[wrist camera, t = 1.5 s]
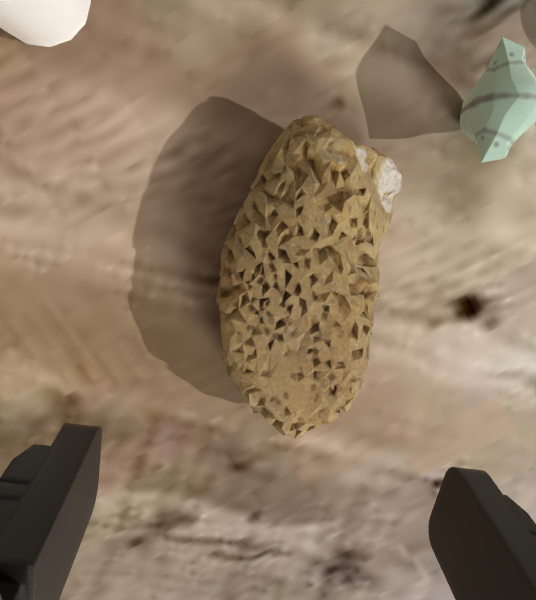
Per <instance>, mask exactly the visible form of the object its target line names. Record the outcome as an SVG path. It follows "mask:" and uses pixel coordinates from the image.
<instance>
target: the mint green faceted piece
mask: <svg viewBox="0 0 536 600" xmlns="http://www.w3.org/2000/svg"><path fill="white" fill-rule="evenodd" d="M535 123H536V76H535V75H534V74H533V73H532V71H531V70H530V69H529V68H528V66H527V65H526V60H525V47H523V46H521V45H519V44H517V43H514V42H512V41H510V40H508V39H506V38H503V37H502V39H501V41H500V43H499V45H498V47H497V49H496V51H495V53H494V55H493V57H492V59H491V61H490V63H489V66H488V68H487V69H486V71H485V72H484V74H483V75H482V77H481V78H480V80H479V81H478V83H477V84H476V86H475V87H474V88H473V89H472V90H471V92H470V93H469V94H468V96H467V97H466V98H465V100H464V101H463V105H462V109H461V115H460V127H461V129H462V131H463V133H464V134H465V135H466V136H468V137H469V138H470V139H473V140H474V142H475V143H476V145H477V147H478V151H479V155H480V159H481V162H487V161H493V160H499V159H503V158H505V157H506V155H507V153H508V151H509V149H510V147H511V145H512V144H513V143H514V142H515V141H516V140H517V139H518V138H519V137H520V136H521V135H522V134H523V133H524V132H525V131H526V130H528V129H529V128H530V127H531V126H532V125H534V124H535Z"/></svg>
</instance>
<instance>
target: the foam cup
mask: <svg viewBox="0 0 536 600" xmlns="http://www.w3.org/2000/svg"><path fill="white" fill-rule="evenodd" d="M90 4H91V0H0V28H1V29H3V30H4V31H6V32H8V33H9V34H11V35H13V36H14V37H16V38H18V39H19V40H21V41H22V42H24V43H26V44H31V45H38V46H46V47H51V46H54V45H57V44H60V43H63V42H66V41H69V40H71V39H72V38H73V37H74V36H75V35H76V34H77V32H78V31H79V30H80V29H81V28H82V27H83V26H84V25H85V23H86V19H87V16H88V12H89V8H90Z"/></svg>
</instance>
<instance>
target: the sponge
mask: <svg viewBox="0 0 536 600" xmlns="http://www.w3.org/2000/svg"><path fill="white" fill-rule="evenodd" d="M401 186H402V175H401V174H400V173H399V171H398V170H397V168H396V167H395V163H394V162H393V161H392V160H391V159H390V158H389V157H387V156H385V155H383V154H382V153H380V152H378V151H377V150H375V149H373V148H369V147H367V146H366V145H355V144H354V142H353V141H352V139H351V138H349V137H347V136H345V135H343V134H342V133H340V132H339V131H338V130H336V129H335V126H333V125H332V124H330V123H329V122H327V121H326V120H324V119H323V118H321V117H317V116H312V115H310V116H306V117H303V118H302V119H298V120H294V121H293V122H292V123H291V124H290V125H289V126H288V127H287V128H286V129H285V130H284V131H283V132H282V133H281V135H280V136H279V138H278V139H277V140H276V141H275V142H274V144H273V145H272V147H271V149H270V150H269V152H268V153H267V155H266V157H265V158H264V160H263V162H262V163H261V165H260V167H259V171H258V174H257V178H256V180H255V181H254V182H253V184H252V185H251V186H250V191H249V194H248V196H247V198H246V200H245V202H244V203H243V205H242V207H241V209H240V210H239V212H238V214H237V216H236V218H235V221H234V223H233V226H232V229H231V230H230V232H229V234H228V236H227V238H226V241H225V243H224V245H223V248H222V249H223V251H222V255H221V271H220V274H219V276H220V277H221V279H220V281H219V286H218V291H217V297H216V303H218V304H219V310H220V311H222V312H220V324H221V339H222V345H221V346H222V350H223V363H224V364H226V365H227V373H228V374H229V376H230V378H231V380H232V381H233V382H234V383H235V384H236V385H237V386H238V388H239V390H240V393H241V395H242V396H243V397H244V398H245V399H246V401H247V402H248V403H249V405H250V406H251V407H252V409H253V412H254V413H261V414H262V415H263V416H264V418H265V419H266V420H267V421H268V422H269V423H270V424H271V425H273V426H274V427H275V428H276V429H277V430H278V431H279V432H280V433H281V434H283V435H288V436H291V437H293V438H299V437H301V436H302V435H303V434H304V433H305V432H306V431H308V430H310V429H313V428H317V427H321V426H322V424H323V423H331V422H332V421H334V420H335V419H337V418H339V417H340V410H342V411H345V412H347V411H348V410H349V408H350V406H351V404H352V402H353V400H354V398H355V396H356V395H357V393H358V392H359V390H360V388H361V385H362V376H363V373H364V371H365V369H366V366H367V362H368V357H369V345H370V344H369V340H370V335H372V334H371V328H372V326H373V316H374V315H373V307H374V302H375V300H376V298H377V297H378V296H379V274H380V272H379V260H378V252H379V246H380V241H381V237H382V236H383V235H384V234H385V233H386V232H387V230H388V228H389V225H390V222H391V217H392V205H393V200H394V196H395V194H397V193H398V192H399V191H400V190H401Z"/></svg>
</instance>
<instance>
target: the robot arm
mask: <svg viewBox="0 0 536 600" xmlns="http://www.w3.org/2000/svg"><path fill="white" fill-rule="evenodd" d="M101 438H102V430H101V427H96V426H87V425H78V424H69V423H65V424H64V425H63V427H62V428H61V430H60V432H59V433H58V435H57V437H56V439H55V440H54V442H53V444H52V445H51V446H45V445H35V444H34V445H32V446H31V447H30V448H28V449H27V450H25V451H24V452H23V453H21V454H20V455H18V456H17V457H15V458H14V459H13V460H12V461H11V463H10V464H9V466H8V467H7V469H6V470H5V472H4V473H3V475H2V476H1V478H0V600H59V599H60V596H61V593H62V591H63V588H64V585H65V583H66V580H67V578H68V575H69V572H70V570H71V567H72V564H73V562H74V559H75V557H76V554H77V551H78V549H79V546H80V543H81V541H82V538H83V536H84V533H85V530H86V528H87V525H88V522H89V520H90V517H91V514H92V511H93V508H94V504H95V500H96V495H97V490H98V480H99V466H100V452H101ZM429 539H430V543H431V546H432V549H433V551H434V553H435V556H436V558H437V560H438V562H439V564H440V567H441V569H442V571H443V573H444V575H445V577H446V580H447V582H448V584H449V586H450V588H451V591H452V593H453V595H454V597H455V599H456V600H536V524H535V523H534V521H533V520H532V519H531V517H530V516H529V515H528V513H527V512H526V511H524V510H523V509H522V508H521V507H520V506H518V505H517V504H516V503H515V502H514V501H513V500H511V499H510V498H509V497H508V496H507V495H503V494H502V493H501V491H500V490H499V489H498V487H497V486H496V484H495V483H494V482H493V480H492V479H491V477H490V476H489V475H488V474H487V473H486V472H485V471H483V470H474V469H465V468H456V467H451V468H449V469H448V470H447V472H446V474H445V476H444V479H443V482H442V485H441V488H440V491H439V493H438V496H437V499H436V502H435V505H434V508H433V510H432V513H431V516H430V520H429Z"/></svg>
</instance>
